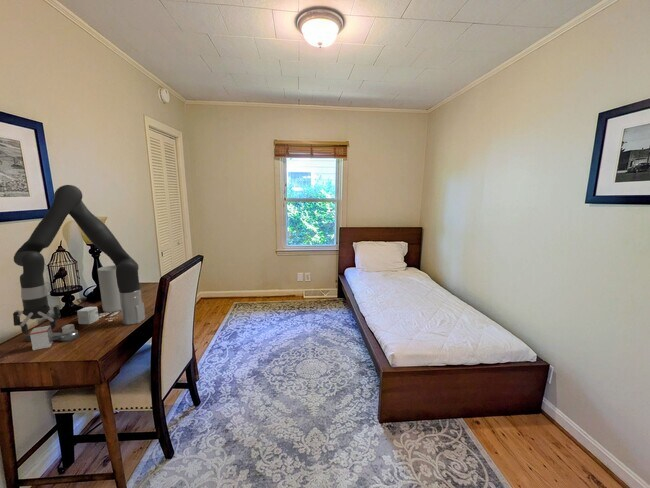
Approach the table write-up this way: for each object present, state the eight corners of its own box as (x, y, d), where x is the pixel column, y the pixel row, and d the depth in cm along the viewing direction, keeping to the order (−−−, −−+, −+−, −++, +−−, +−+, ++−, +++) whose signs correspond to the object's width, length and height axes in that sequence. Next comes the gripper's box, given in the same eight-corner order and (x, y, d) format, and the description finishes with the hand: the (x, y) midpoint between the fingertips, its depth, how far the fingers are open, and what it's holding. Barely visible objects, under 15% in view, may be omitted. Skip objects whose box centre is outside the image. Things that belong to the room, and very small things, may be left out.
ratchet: (82, 334, 134) (80, 322, 133) (71, 341, 128) (69, 328, 127) (36, 335, 133) (34, 323, 132) (22, 342, 127) (20, 329, 126)
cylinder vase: (112, 313, 158) (107, 271, 154) (97, 310, 162) (92, 269, 158) (134, 305, 170) (129, 266, 166) (119, 303, 174) (114, 264, 170)
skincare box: (89, 324, 145) (87, 311, 144) (78, 324, 146) (76, 310, 144) (99, 319, 151) (97, 306, 150) (88, 319, 152) (87, 306, 150)
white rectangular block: (53, 341, 128) (50, 325, 127) (50, 346, 123) (47, 330, 122) (36, 344, 125) (33, 328, 124) (32, 350, 120) (29, 333, 119)
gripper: (59, 290, 127) (63, 324, 130) (14, 296, 120) (20, 331, 123) (54, 295, 121) (59, 330, 124) (7, 301, 114) (13, 338, 116)
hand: (39, 330), depth 123 cm, fingers open, 8 cm apart
